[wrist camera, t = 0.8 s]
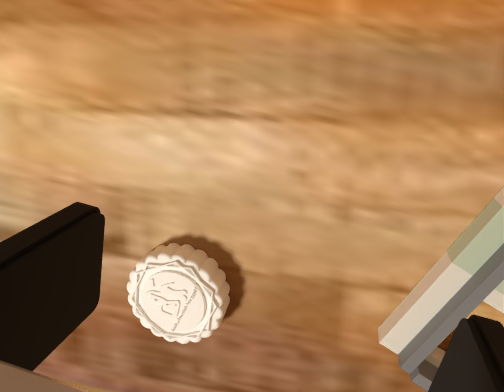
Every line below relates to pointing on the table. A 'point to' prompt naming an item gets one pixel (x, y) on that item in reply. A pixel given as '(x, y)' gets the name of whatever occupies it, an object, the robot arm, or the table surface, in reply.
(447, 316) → the lane board
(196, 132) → the table surface
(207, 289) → the mooncake
